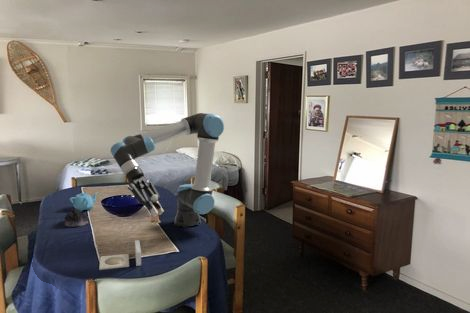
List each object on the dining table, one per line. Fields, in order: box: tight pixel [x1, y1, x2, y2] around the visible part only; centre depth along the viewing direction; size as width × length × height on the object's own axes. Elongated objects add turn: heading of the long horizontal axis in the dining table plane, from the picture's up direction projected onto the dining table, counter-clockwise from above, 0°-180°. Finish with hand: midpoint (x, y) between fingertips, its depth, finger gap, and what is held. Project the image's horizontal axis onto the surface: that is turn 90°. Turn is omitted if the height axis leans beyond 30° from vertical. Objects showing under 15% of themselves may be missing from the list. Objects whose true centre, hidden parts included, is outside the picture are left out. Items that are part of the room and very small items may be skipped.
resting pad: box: [98, 253, 130, 271], centre depth 156 cm, size 12×12×1 cm
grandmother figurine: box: [145, 194, 163, 224], centre depth 158 cm, size 8×4×13 cm, turn 84°
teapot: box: [69, 191, 99, 213], centre depth 226 cm, size 13×14×11 cm
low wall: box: [134, 239, 142, 267], centre depth 159 cm, size 2×14×6 cm, turn 18°
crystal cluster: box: [64, 208, 89, 228], centre depth 201 cm, size 13×14×10 cm
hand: (158, 213), depth 157 cm, fingers closed on grandmother figurine, 3 cm apart
